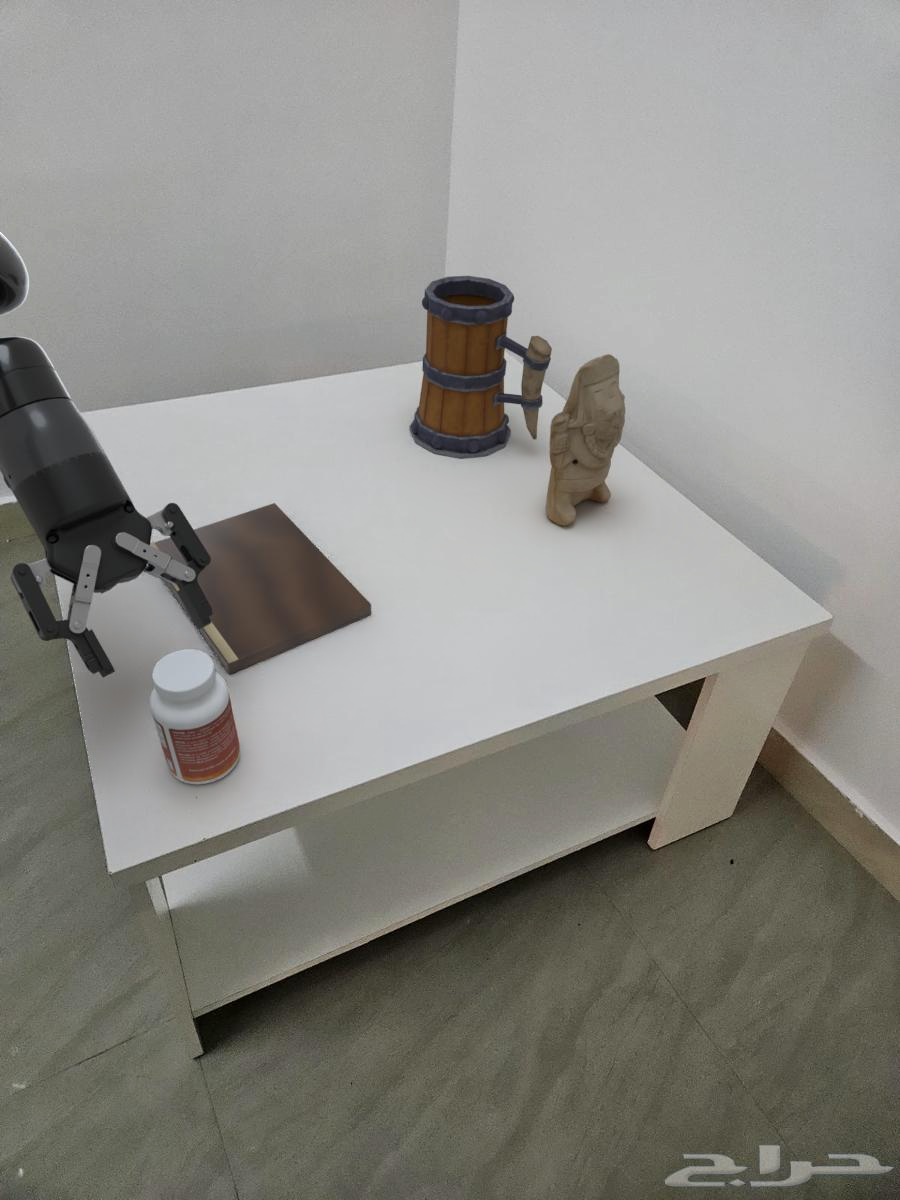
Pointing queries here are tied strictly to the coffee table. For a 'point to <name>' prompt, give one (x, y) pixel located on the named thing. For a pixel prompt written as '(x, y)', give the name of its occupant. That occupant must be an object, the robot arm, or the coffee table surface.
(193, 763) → the pill bottle
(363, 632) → the coffee table surface
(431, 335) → the mug
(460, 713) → the coffee table surface
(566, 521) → the figurine
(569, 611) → the coffee table surface
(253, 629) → the board
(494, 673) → the coffee table surface
